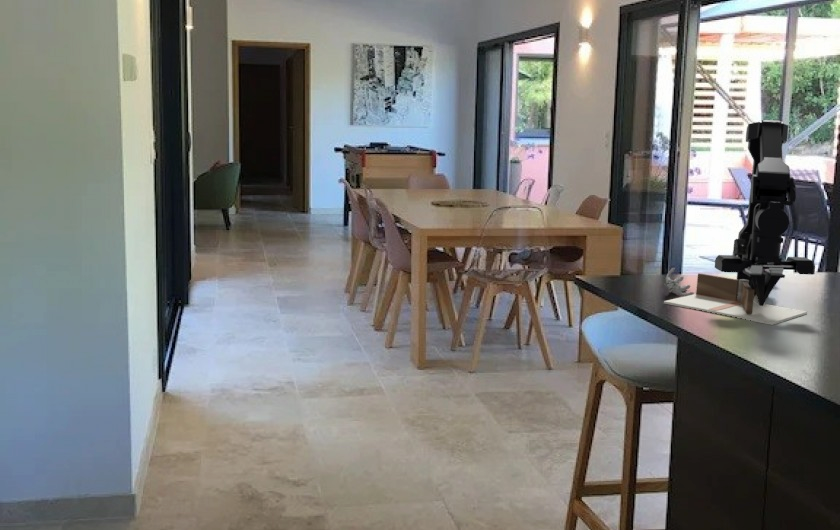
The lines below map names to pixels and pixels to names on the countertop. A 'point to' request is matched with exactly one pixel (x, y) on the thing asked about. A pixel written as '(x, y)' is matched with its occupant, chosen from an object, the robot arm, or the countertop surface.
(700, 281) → the fence base
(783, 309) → the card
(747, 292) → the fence panel
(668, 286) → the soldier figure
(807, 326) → the countertop surface
